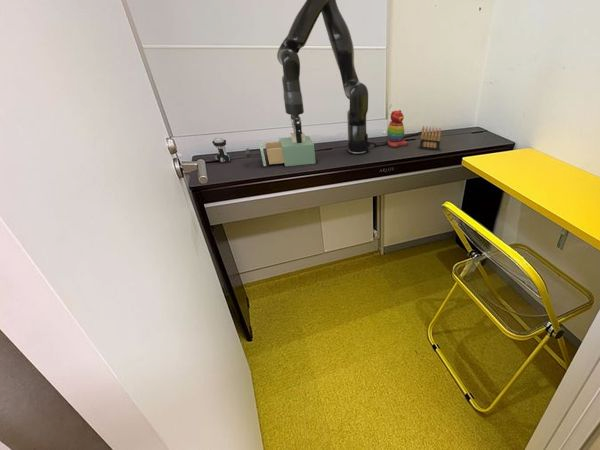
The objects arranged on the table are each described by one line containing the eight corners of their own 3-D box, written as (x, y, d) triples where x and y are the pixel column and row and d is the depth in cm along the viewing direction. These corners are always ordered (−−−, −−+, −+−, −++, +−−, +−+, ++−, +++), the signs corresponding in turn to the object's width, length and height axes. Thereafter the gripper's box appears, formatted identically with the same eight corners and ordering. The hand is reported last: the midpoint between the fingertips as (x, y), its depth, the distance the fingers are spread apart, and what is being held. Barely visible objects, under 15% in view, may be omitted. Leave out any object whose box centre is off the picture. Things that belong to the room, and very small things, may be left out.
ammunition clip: (439, 149, 170) (442, 127, 163) (439, 150, 168) (442, 128, 162) (419, 147, 171) (421, 125, 164) (419, 148, 169) (421, 126, 163)
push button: (212, 162, 138) (205, 140, 133) (219, 157, 143) (214, 136, 137) (226, 163, 138) (220, 141, 132) (233, 159, 142) (228, 137, 137)
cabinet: (285, 166, 139) (282, 146, 134) (282, 156, 148) (279, 138, 143) (315, 163, 144) (313, 144, 139) (311, 154, 153) (309, 135, 148)
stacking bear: (392, 148, 167) (394, 114, 157) (382, 142, 174) (383, 109, 164) (408, 145, 173) (411, 112, 163) (398, 139, 179) (400, 107, 169)
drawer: (248, 167, 133) (245, 151, 129) (247, 158, 142) (244, 143, 138) (293, 163, 140) (291, 147, 136) (289, 154, 148) (287, 139, 144)
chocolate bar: (303, 138, 144) (303, 131, 142) (305, 141, 141) (304, 134, 139) (291, 139, 142) (290, 132, 140) (292, 142, 139) (291, 135, 137)
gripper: (305, 105, 128) (309, 145, 137) (300, 97, 139) (304, 135, 148) (286, 105, 125) (292, 146, 135) (282, 98, 136) (287, 136, 145)
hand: (298, 140), depth 141 cm, fingers closed on cabinet, chocolate bar, 4 cm apart
